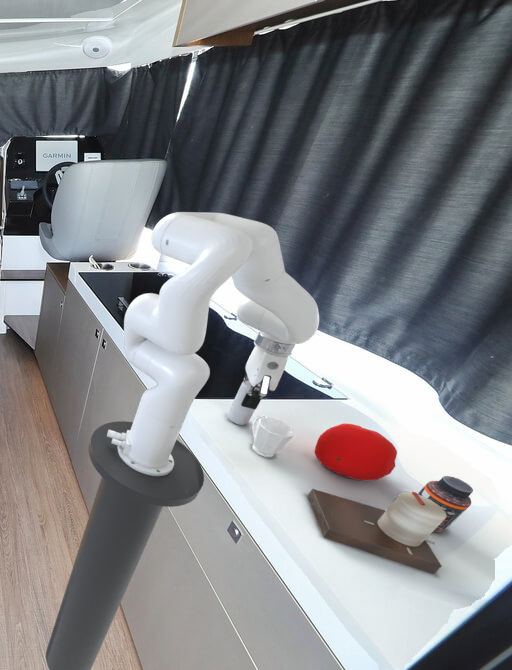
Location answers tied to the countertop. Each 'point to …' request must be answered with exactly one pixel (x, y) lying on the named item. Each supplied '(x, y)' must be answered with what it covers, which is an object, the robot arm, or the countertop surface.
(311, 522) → the countertop surface
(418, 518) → the cream dial knob
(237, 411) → the beverage can
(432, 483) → the supplement bottle
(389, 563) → the countertop surface
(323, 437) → the tomato
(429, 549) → the dial plaque
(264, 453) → the cup
